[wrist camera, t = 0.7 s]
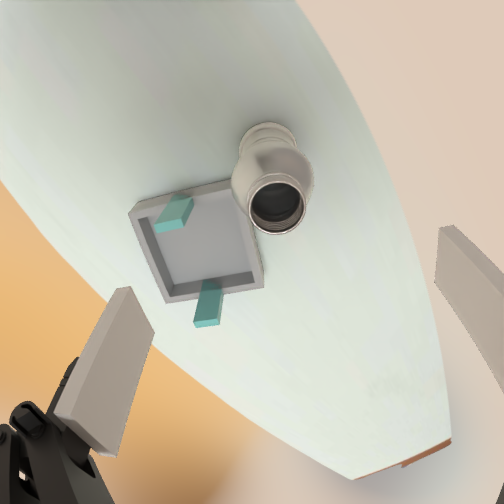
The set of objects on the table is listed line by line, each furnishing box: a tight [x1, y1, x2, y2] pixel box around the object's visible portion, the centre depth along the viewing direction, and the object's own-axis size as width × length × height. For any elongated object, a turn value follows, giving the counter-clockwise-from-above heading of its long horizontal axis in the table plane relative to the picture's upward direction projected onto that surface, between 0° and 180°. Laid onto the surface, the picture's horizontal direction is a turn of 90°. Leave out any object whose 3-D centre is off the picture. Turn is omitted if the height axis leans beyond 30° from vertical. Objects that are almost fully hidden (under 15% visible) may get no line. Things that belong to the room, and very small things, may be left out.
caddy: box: [128, 179, 264, 328], centre depth 39 cm, size 14×14×10 cm
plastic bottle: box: [231, 122, 314, 235], centre depth 28 cm, size 6×7×20 cm
